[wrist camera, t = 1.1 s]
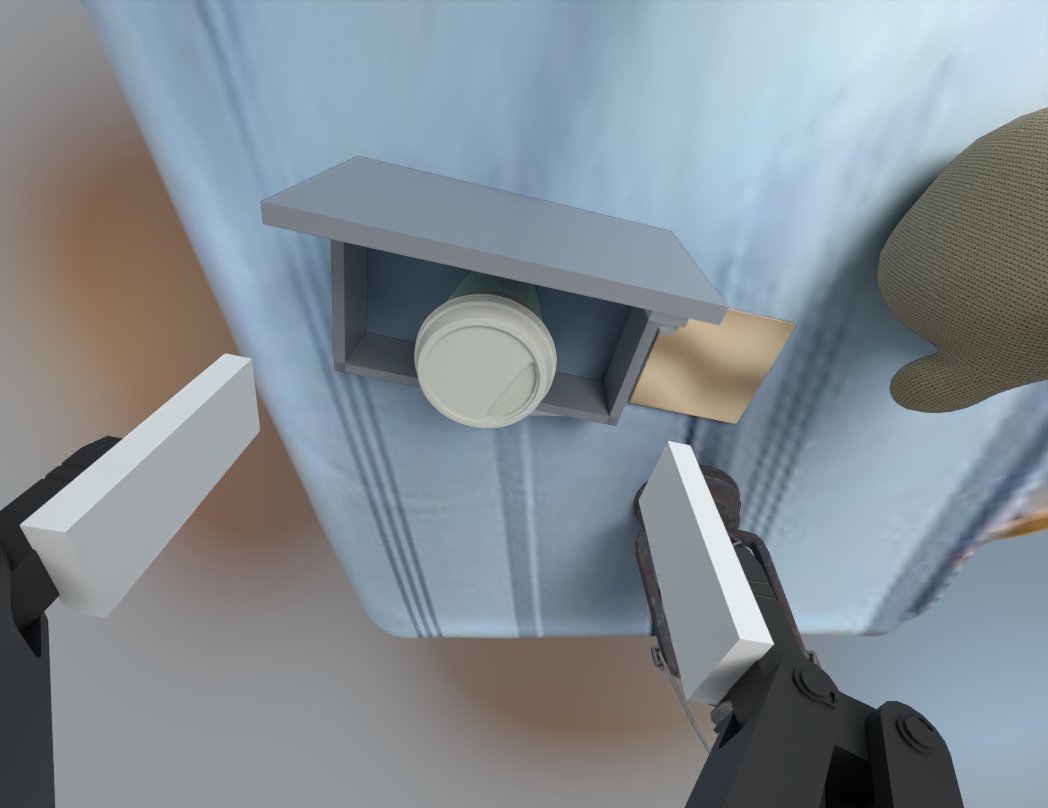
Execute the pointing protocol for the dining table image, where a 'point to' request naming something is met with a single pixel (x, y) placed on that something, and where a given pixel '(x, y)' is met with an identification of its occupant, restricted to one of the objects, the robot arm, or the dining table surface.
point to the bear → (975, 272)
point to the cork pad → (711, 365)
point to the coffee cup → (486, 353)
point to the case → (494, 265)
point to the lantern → (729, 510)
